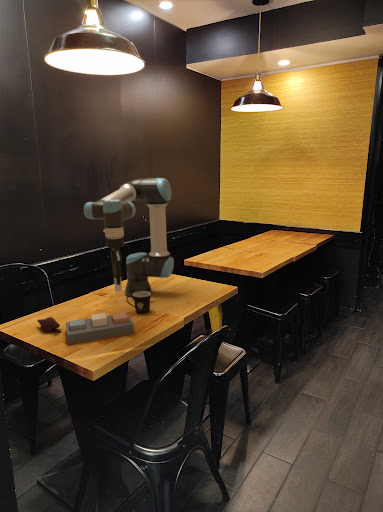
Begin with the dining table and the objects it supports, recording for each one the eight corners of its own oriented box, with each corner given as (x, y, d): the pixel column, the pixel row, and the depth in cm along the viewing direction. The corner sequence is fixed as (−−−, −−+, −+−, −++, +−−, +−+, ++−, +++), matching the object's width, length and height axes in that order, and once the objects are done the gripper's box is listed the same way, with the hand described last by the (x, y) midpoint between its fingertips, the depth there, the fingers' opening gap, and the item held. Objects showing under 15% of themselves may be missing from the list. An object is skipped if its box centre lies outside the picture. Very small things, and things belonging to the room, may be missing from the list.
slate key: (84, 327, 160) (83, 318, 159) (86, 332, 154) (85, 324, 153) (70, 329, 157) (69, 321, 157) (71, 335, 152) (70, 326, 151)
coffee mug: (155, 312, 183) (154, 293, 181) (143, 318, 176) (142, 298, 174) (137, 307, 189) (136, 289, 187) (125, 313, 182) (124, 294, 180)
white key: (105, 321, 162) (104, 312, 161) (107, 326, 157) (106, 317, 156) (91, 323, 160) (90, 314, 159) (93, 328, 155) (92, 319, 154)
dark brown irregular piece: (28, 318, 161) (51, 328, 154) (42, 309, 167) (64, 318, 159) (32, 331, 165) (55, 341, 157) (46, 321, 170) (68, 331, 163)
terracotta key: (125, 320, 166) (125, 312, 165) (128, 325, 160) (128, 317, 159) (112, 322, 164) (111, 314, 163) (114, 328, 158) (114, 319, 157)
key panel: (127, 322, 171) (127, 312, 170) (134, 335, 158) (133, 324, 157) (66, 332, 161) (65, 322, 160) (68, 346, 148) (67, 335, 147)
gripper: (103, 235, 158) (107, 287, 163) (108, 240, 146) (112, 297, 152) (120, 233, 160) (124, 285, 166) (126, 239, 149) (130, 294, 154)
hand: (118, 290), depth 159 cm, fingers closed
